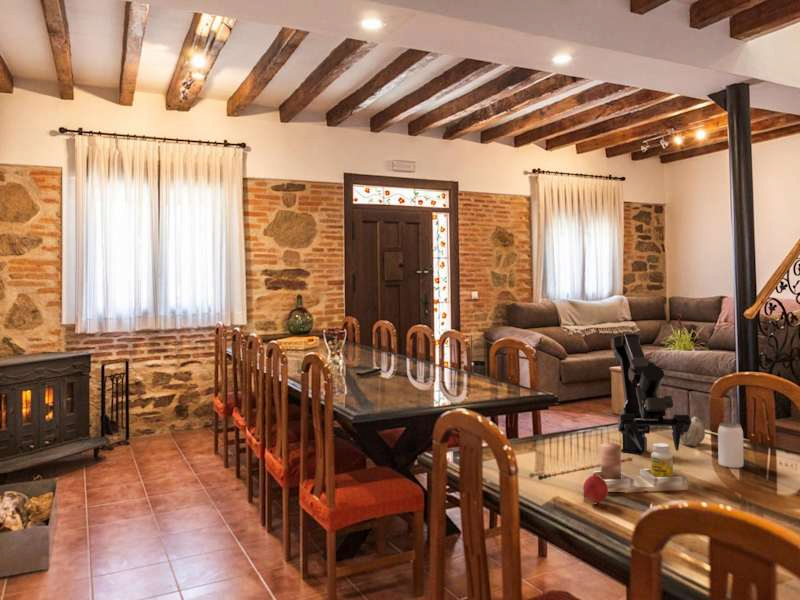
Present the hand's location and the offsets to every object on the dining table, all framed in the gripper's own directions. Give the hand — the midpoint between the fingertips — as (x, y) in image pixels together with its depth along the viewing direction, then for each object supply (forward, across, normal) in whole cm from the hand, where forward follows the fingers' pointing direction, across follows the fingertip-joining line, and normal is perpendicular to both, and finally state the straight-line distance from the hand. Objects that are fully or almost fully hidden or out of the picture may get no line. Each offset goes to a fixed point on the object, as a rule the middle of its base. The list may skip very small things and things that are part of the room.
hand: (659, 449), depth 166 cm
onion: (+20, -20, -7) cm, 29 cm away
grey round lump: (-22, +20, +35) cm, 46 cm away
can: (-6, +24, +18) cm, 31 cm away
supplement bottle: (+7, 0, +4) cm, 8 cm away
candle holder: (+9, -7, +3) cm, 12 cm away
